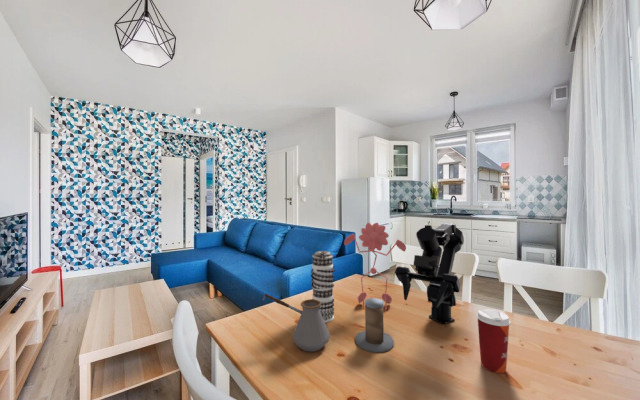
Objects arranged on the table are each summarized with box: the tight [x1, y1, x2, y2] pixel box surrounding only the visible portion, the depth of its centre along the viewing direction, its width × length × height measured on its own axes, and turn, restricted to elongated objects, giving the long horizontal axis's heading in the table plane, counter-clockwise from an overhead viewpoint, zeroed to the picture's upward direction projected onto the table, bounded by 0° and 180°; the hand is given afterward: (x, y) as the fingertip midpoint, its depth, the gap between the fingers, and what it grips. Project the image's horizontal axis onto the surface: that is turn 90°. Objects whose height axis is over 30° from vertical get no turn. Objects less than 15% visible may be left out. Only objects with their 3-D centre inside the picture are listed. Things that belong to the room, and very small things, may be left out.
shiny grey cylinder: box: [364, 297, 384, 344], centre depth 83 cm, size 6×6×12 cm
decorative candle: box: [310, 250, 336, 324], centre depth 100 cm, size 9×9×25 cm
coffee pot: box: [262, 293, 330, 353], centre depth 82 cm, size 21×12×15 cm, turn 81°
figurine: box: [343, 222, 407, 311], centre depth 114 cm, size 15×26×35 cm, turn 80°
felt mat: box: [354, 330, 395, 354], centre depth 83 cm, size 12×12×1 cm
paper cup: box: [475, 308, 511, 374], centre depth 70 cm, size 8×8×14 cm
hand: (420, 303), depth 79 cm, fingers open, 9 cm apart
